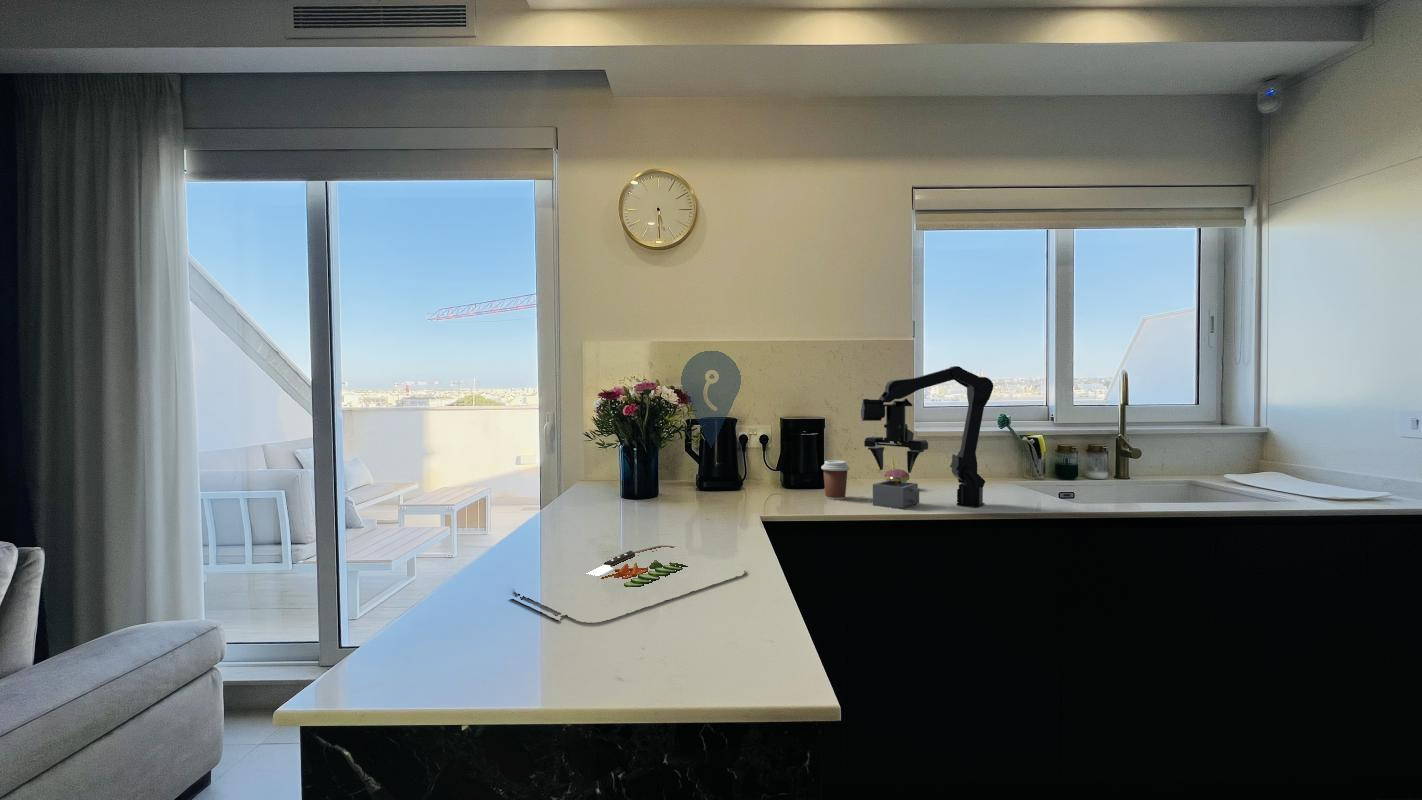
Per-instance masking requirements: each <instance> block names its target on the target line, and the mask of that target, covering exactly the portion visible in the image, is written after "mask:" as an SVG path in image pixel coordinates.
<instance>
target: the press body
mask: <svg viewBox="0 0 1422 800" xmlns="http://www.w3.org/2000/svg"><path fill="white" fill-rule="evenodd" d="M918 487H919V485H918V483H917V482H915V483H914V482H907V481H906V482H901V484H899V485H897V486H894V484H889V480H883V481H881V482H876V483H873V484H872V506H876V507H882V506H883V508H889V507H891V509H897V508H898V510H905V508H906V509H908V507H909V508H911V506H912V507H914V506H917V505H918V504H920V488H918ZM916 504H917V505H916ZM913 505H914V506H913Z"/></svg>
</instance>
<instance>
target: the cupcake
mask: <svg viewBox="0 0 1422 800" xmlns="http://www.w3.org/2000/svg"><path fill="white" fill-rule="evenodd" d="M890 461H891V467H892V469H889V470H887V471H886V472H884V474H883V477H884V480H885V481H887V480H889V476H901V482H907V481H909V480H910V473H908V471H906V470H905V469H904V470H903V469H900V468H898V469H897V468H895V464H894V462H895V461H894V457H893V456H892V454H891V455H890Z"/></svg>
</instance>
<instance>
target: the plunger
mask: <svg viewBox="0 0 1422 800" xmlns="http://www.w3.org/2000/svg"><path fill="white" fill-rule="evenodd" d="M889 484H894V486H897V485H899V484H901V476H889Z"/></svg>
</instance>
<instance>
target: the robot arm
mask: <svg viewBox="0 0 1422 800" xmlns="http://www.w3.org/2000/svg"><path fill="white" fill-rule="evenodd" d="M951 381H955V382H957V383H958V384H959V385H961V386H963V387H964V388H966V397H967V403H968V405H967V412H966V419H965V423H964V428H963V429H964V430H963V434H962V439H961V445H960V450H959V451H958V453H957V454H954V453H953V454H952V457H951V463H950V465H949V467H950V468H951V473H952V475H953V476H954V478H956V479H957V481H958V488H957V490H956V502H957V503H956V505H957V506H962V507H970V508H977V509H978V508H980V507H982V506H984V505H986V504H985V502H984V501H983V500H984V499H983V497H984V494H983V493H984V491H983V490H984V486H985V485H986V484H985V483H986V480H985V479H984V478H983V477H981V475H980V474H979V473H978V459H977V453H976V452H977V448H978V443H979V438H980V432H981V425H982V420H983V416H984V415H983V414H984V410H985V407H986V405H987V403H988V402H989V400H990V397H991V396H992V393H993V390H994V383H993V381H992V380H991V379H990V378H989V377H986V376H978V375H977V374H974V373H973V372H971V371H968V370H966V369H964V368H963V367H961V366H956V365H955V366H954V365H953V366H949V368H945V369H941V370H939V371H935V372H932V373H928V374H924V375H920V376H917V377H913V378H903V379H901V378H900V379H894V380H889V381H888V382H887V383H886V385H885V386H884V391H883V393H882V394H881V395H880V397H879V398H878V399H869V398H863V399H862V403H861V409H860V417H861V421H862V422H874V421H875V422H881V421H882V419H884V418H885V424H883V427H884V428H885V437H883V436H868V437H866V438H865V439H864V441H863V442H864V444H863V447H865V448H867V450H870V451H871V454H872V455H873V457H874V460H876V463H877V465H878V467H879V471H883V470H884V452H885V451H884V450H885V446H886V447H887V446H888V447H899V448H908V449H909V450H907V451H906V462H907V467H906V468H907V473H908V474H911V473H912V470H913V467H914V465H915V462H916V461H917V458H918V456H919V454H921V453H924V451H925V450H929V443H928V440H926V439H914V434H915V433H914V432H913V431H912V430H910V429H909V428H908V424H907V423H906V407H913V403H911V402H910V401H909V399H908V398H906V397H908V396H910V395H911V394H914V393H916V392H918V391H919V390H922V389H926V388H930V387H933V386H936V385H940V384H943V383H947V382H951ZM901 399H903V400H901ZM891 402H892V403H891ZM889 403H890V404H889Z"/></svg>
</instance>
